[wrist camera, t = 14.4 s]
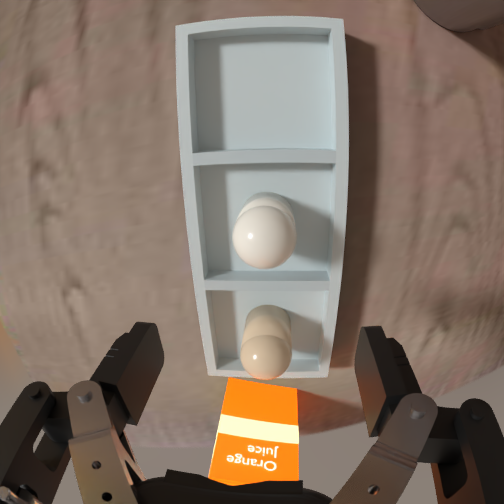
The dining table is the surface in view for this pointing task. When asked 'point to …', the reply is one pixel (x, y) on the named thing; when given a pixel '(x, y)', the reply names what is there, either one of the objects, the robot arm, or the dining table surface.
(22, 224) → the dining table surface
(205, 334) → the white divided tray
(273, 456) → the orange juice
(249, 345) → the tan egg
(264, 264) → the cream egg
